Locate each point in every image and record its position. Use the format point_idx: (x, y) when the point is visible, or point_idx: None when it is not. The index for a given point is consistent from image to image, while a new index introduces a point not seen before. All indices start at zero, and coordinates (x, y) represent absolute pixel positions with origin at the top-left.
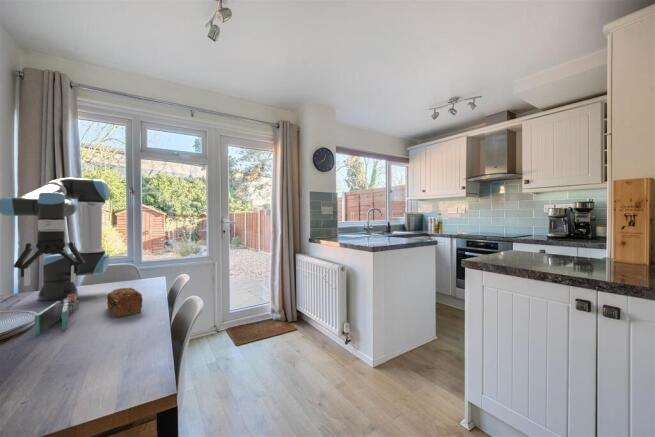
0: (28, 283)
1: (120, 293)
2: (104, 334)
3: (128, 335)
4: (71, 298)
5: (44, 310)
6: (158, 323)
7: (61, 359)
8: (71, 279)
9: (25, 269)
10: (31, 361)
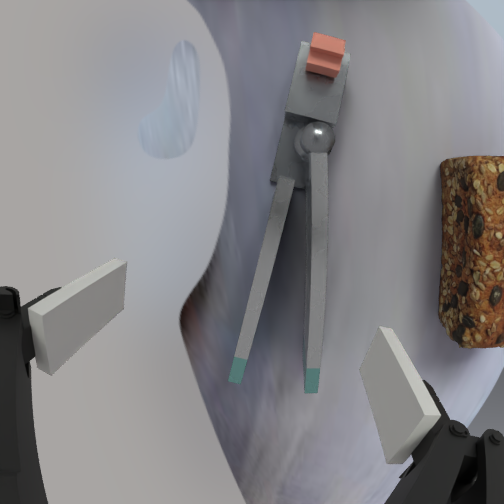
0: (119, 290)
1: (500, 311)
2: None
3: None
4: (327, 70)
5: (247, 332)
6: (469, 411)
7: (298, 477)
8: (366, 381)
9: (46, 369)
10: (258, 463)
